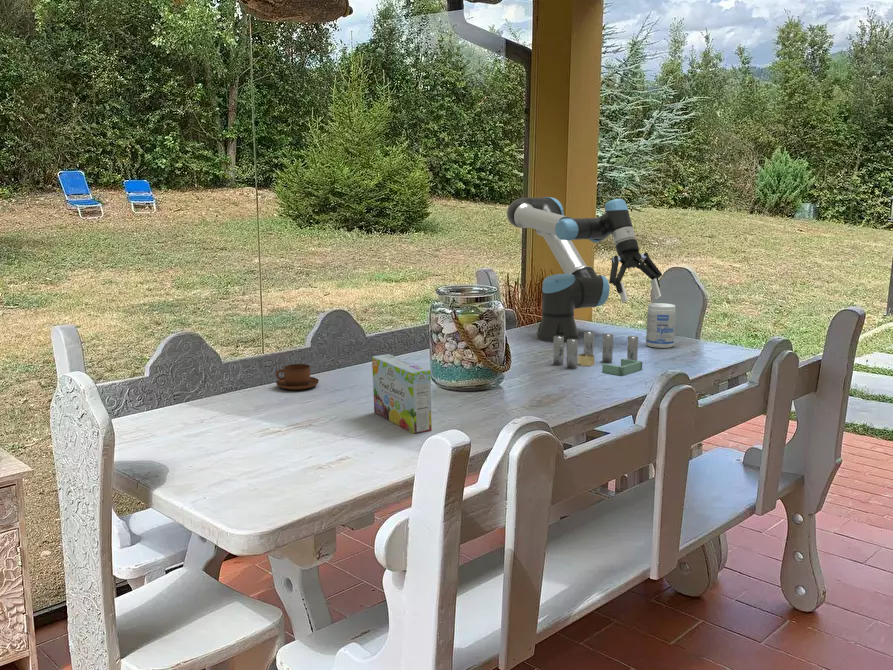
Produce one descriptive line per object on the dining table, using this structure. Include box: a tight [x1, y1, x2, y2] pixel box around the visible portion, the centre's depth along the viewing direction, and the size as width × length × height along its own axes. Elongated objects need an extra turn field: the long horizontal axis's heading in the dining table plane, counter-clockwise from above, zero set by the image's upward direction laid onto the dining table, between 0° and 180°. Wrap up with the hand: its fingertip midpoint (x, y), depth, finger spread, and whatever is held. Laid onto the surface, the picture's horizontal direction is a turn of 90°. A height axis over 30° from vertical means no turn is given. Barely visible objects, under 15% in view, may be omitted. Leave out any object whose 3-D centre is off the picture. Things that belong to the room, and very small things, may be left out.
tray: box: [601, 358, 643, 377], centre depth 261 cm, size 7×11×2 cm, turn 136°
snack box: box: [371, 353, 433, 435], centre depth 208 cm, size 21×6×15 cm, turn 32°
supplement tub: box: [645, 302, 677, 349], centre depth 298 cm, size 10×10×15 cm
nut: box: [577, 353, 595, 367], centre depth 271 cm, size 5×4×3 cm
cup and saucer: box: [275, 363, 320, 391], centre depth 243 cm, size 12×12×6 cm
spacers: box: [552, 330, 639, 370], centre depth 269 cm, size 21×20×9 cm
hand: (641, 299), depth 291 cm, fingers open, 13 cm apart
